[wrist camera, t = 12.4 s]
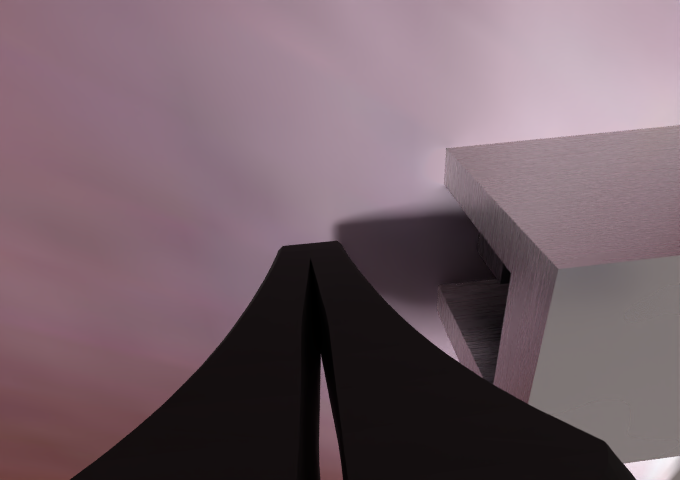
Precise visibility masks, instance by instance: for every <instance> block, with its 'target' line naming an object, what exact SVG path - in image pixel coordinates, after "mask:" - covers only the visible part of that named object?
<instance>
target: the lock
mask: <svg viewBox="0 0 680 480" xmlns="http://www.w3.org/2000/svg"><path fill="white" fill-rule="evenodd" d="M444 185H445V186H446V188H447V189H448V190H449V192H450V193H451V194H452V196H453V197H454V198H455V200H456V201H457V202H458V204H459V205H460V206H461V208H462V209H463V210H464V212H465V213H466V214H467V216H468V217H469V218H470V220H471V221H472V222H473V224H474V225H475V226H476V228H477V229H478V230H479V232H480V233H481V234H482V235H483V237H484V238H485V239H486V241H487V242H488V243H489V245H490V246H491V247H492V249H493V250H494V251H495V253H496V254H497V255H498V257H499V258H500V259H501V261H502V262H503V263H504V265H505V266H506V267H507V269H508V270H509V271H510V273H511V277H510V283H507V284H500V283H499V282H498V280H497V279H488V280H480V281H471V282H462V283H453V284H445V285H438V297H437V312H438V315H439V317H440V319H441V321H442V324H443V326H444V328H445V330H446V333H447V335H448V337H449V339H450V342H451V344H452V346H453V348H454V351H455V353H456V355H457V357H458V360H459V362H460V363H461V364H462V365H464V366H465V367H467V368H468V369H470V370H471V371H473V372H474V373H476V374H477V375H479V376H480V377H482V378H484V379H485V380H487V381H488V382H490V383H492V384H493V385H495V386H497V387H499V388H500V389H502V390H504V391H506V392H508V393H509V394H511V395H513V396H515V397H516V398H518V399H520V400H522V401H524V402H525V403H527V404H529V405H531V406H533V407H535V408H537V409H539V410H541V411H543V412H545V413H547V414H549V415H551V416H553V417H555V418H557V419H560V420H562V421H564V422H566V423H568V424H570V425H572V426H574V427H576V428H578V429H580V430H582V431H584V432H587V433H589V434H591V435H593V436H595V437H597V438H599V439H601V440H603V441H605V442H606V443H607V444H608V445H609V447H610V448H611V449H612V451H613V452H614V453H615V454H616V456H617V457H618V458H619V459H620V460H621V462H622V463H630V462H638V461H645V460H652V459H660V458H667V457H674V456H680V125H677V126H667V127H657V128H647V129H637V130H627V131H616V132H606V133H596V134H586V135H576V136H566V137H556V138H546V139H535V140H525V141H515V142H505V143H495V144H485V145H475V146H464V147H454V148H446V158H445V176H444Z"/></svg>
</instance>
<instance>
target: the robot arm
mask: <svg viewBox="0 0 680 480" xmlns="http://www.w3.org/2000/svg"><path fill="white" fill-rule="evenodd" d="M321 357H322V362H323V367H324V372H325V377H326V383H327V388H328V393H329V398H330V403H331V408H332V413H333V419H334V424H335V429H336V434H337V439H338V445H339V451H340V458H341V465H342V474H343V480H636V479H635V477H634V476H633V475H632V473H631V472H630V471H629V470H628V469H627V468H626V466H625V465H624V464H623V463H622V462H621V460H620V459H619V458H618V457H617V456H616V454H615V453H614V452H613V451H612V449H611V448H610V447H609V445H608V444H607V443H606V442H605V441H603V440H601V439H599V438H597V437H595V436H593V435H591V434H589V433H587V432H584V431H582V430H580V429H578V428H576V427H574V426H572V425H570V424H568V423H566V422H564V421H562V420H560V419H557V418H555V417H553V416H551V415H549V414H547V413H545V412H543V411H541V410H539V409H537V408H535V407H533V406H531V405H529V404H527V403H525V402H524V401H522V400H520V399H518V398H516V397H515V396H513V395H511V394H509V393H508V392H506V391H504V390H502V389H500V388H499V387H497V386H495V385H493V384H492V383H490V382H488V381H487V380H485V379H484V378H482V377H480V376H479V375H477V374H476V373H474V372H473V371H471V370H470V369H468V368H467V367H465V366H464V365H462V364H461V363H459V362H458V361H456V360H455V359H453V358H452V357H450V356H449V355H447V354H446V353H445V352H443V351H442V350H441V349H439V348H438V347H437V346H435V345H434V344H433V343H431V342H430V341H429V340H428V339H426V338H425V337H424V336H423V335H422V334H420V333H419V332H418V331H417V330H415V329H414V328H413V327H412V326H411V325H410V324H409V323H408V322H406V321H405V320H404V319H403V318H402V317H401V316H400V315H399V314H398V313H397V312H396V311H395V310H394V309H393V308H392V307H391V306H390V305H389V304H388V303H387V302H386V301H385V300H384V299H383V298H382V297H381V296H380V295H379V294H378V292H377V291H376V290H375V289H374V288H373V287H372V286H371V284H370V283H369V282H368V281H367V280H366V279H365V277H364V276H363V275H362V274H361V272H360V271H359V270H358V269H357V267H356V266H355V264H354V263H353V262H352V260H351V259H350V257H349V256H348V254H347V253H346V251H345V250H344V248H343V246H342V244H340V243H339V242H338V241H330V242H320V243H309V244H299V245H289V246H282V247H281V249H280V250H279V251H278V253H277V255H276V258H275V260H274V262H273V264H272V266H271V268H270V270H269V272H268V274H267V276H266V277H265V279H264V281H263V283H262V284H261V286H260V288H259V289H258V291H257V293H256V294H255V296H254V297H253V299H252V301H251V302H250V304H249V305H248V307H247V308H246V310H245V311H244V312H243V314H242V315H241V317H240V318H239V320H238V321H237V322H236V324H235V325H234V327H233V328H232V329H231V331H230V332H229V333H228V335H227V336H226V337H225V338H224V340H223V341H222V342H221V343H220V345H219V346H218V347H217V348H216V350H215V351H214V352H213V353H212V354H211V355H210V356H209V358H208V359H207V360H206V361H205V362H204V363H203V364H202V366H201V367H200V368H199V369H198V370H197V371H196V372H195V373H194V374H193V375H192V376H191V377H190V378H189V379H188V380H187V381H186V382H185V383H184V384H183V385H182V386H181V387H180V388H179V389H178V390H177V391H176V392H175V393H174V394H173V395H172V396H171V397H170V398H169V399H168V400H167V401H166V402H165V403H164V404H163V405H162V406H161V407H160V408H159V409H158V410H156V411H155V412H154V413H153V414H152V415H151V416H149V417H148V418H147V419H146V420H145V421H144V422H143V423H141V424H140V425H139V426H138V427H137V428H136V429H134V430H133V431H132V432H131V433H130V434H128V435H127V436H126V437H125V438H123V439H122V440H121V441H120V442H119V443H117V444H116V445H115V446H114V447H112V448H111V449H110V450H109V451H107V452H106V453H105V454H104V455H102V456H101V457H100V458H98V459H97V460H96V461H95V462H93V463H92V464H91V465H89V466H88V467H86V468H85V469H84V470H82V471H81V472H80V473H78V474H77V475H76V476H74V477H73V478H71V479H70V480H320V468H319V416H320V367H321Z"/></svg>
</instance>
